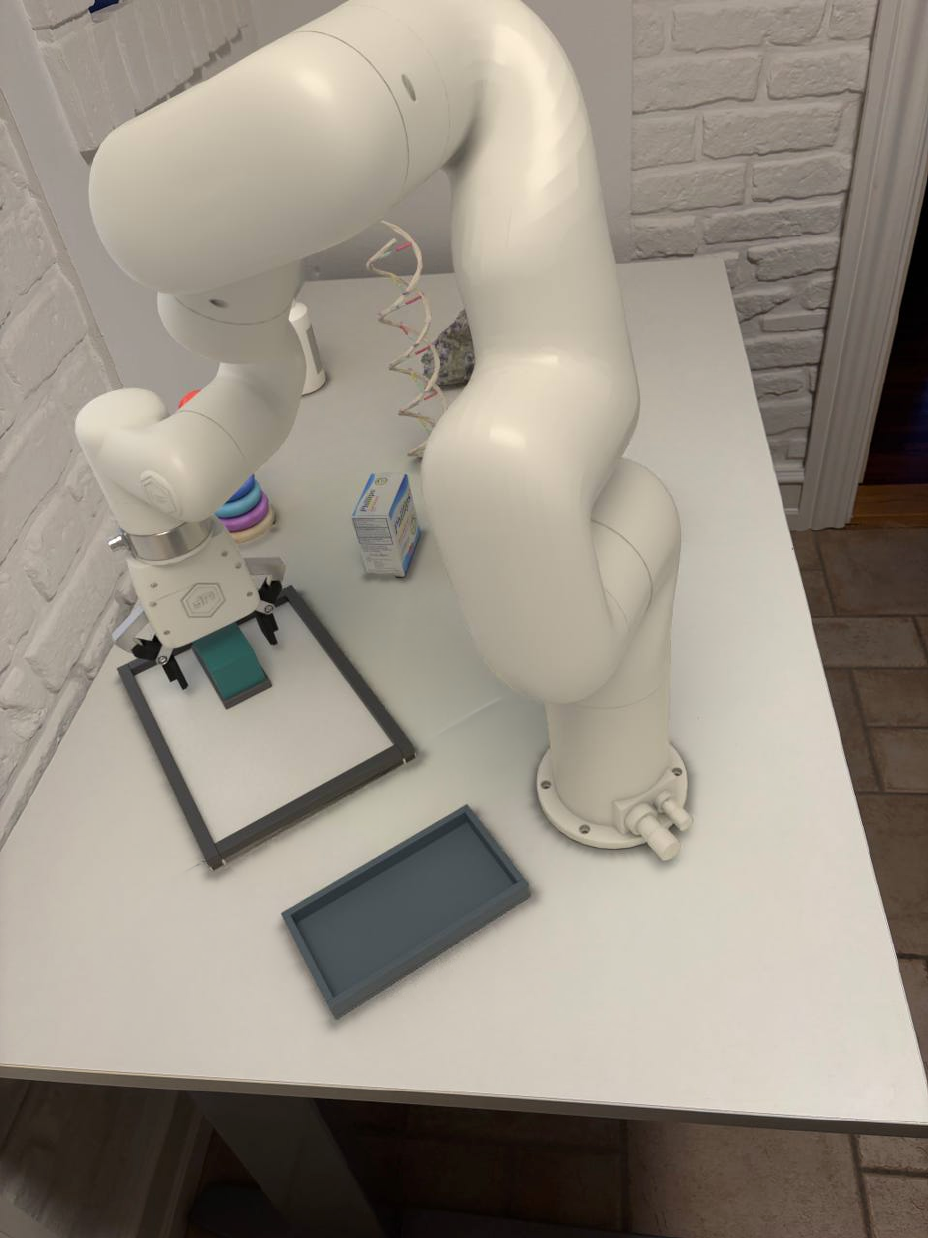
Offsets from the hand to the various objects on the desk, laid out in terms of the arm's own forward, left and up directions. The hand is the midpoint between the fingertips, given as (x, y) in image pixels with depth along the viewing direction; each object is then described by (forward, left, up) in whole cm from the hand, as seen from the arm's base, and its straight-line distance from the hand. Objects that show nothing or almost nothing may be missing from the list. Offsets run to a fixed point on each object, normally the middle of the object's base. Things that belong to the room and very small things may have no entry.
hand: (226, 658), depth 96 cm
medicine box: (+6, -22, -3) cm, 23 cm away
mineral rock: (+35, -50, -3) cm, 61 cm away
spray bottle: (+50, -30, -3) cm, 58 cm away
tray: (-34, -2, -2) cm, 34 cm away
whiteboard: (-7, 0, -2) cm, 8 cm away
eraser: (0, 0, -2) cm, 2 cm away
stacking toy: (+23, -10, -3) cm, 25 cm away
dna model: (+18, -34, -3) cm, 39 cm away
